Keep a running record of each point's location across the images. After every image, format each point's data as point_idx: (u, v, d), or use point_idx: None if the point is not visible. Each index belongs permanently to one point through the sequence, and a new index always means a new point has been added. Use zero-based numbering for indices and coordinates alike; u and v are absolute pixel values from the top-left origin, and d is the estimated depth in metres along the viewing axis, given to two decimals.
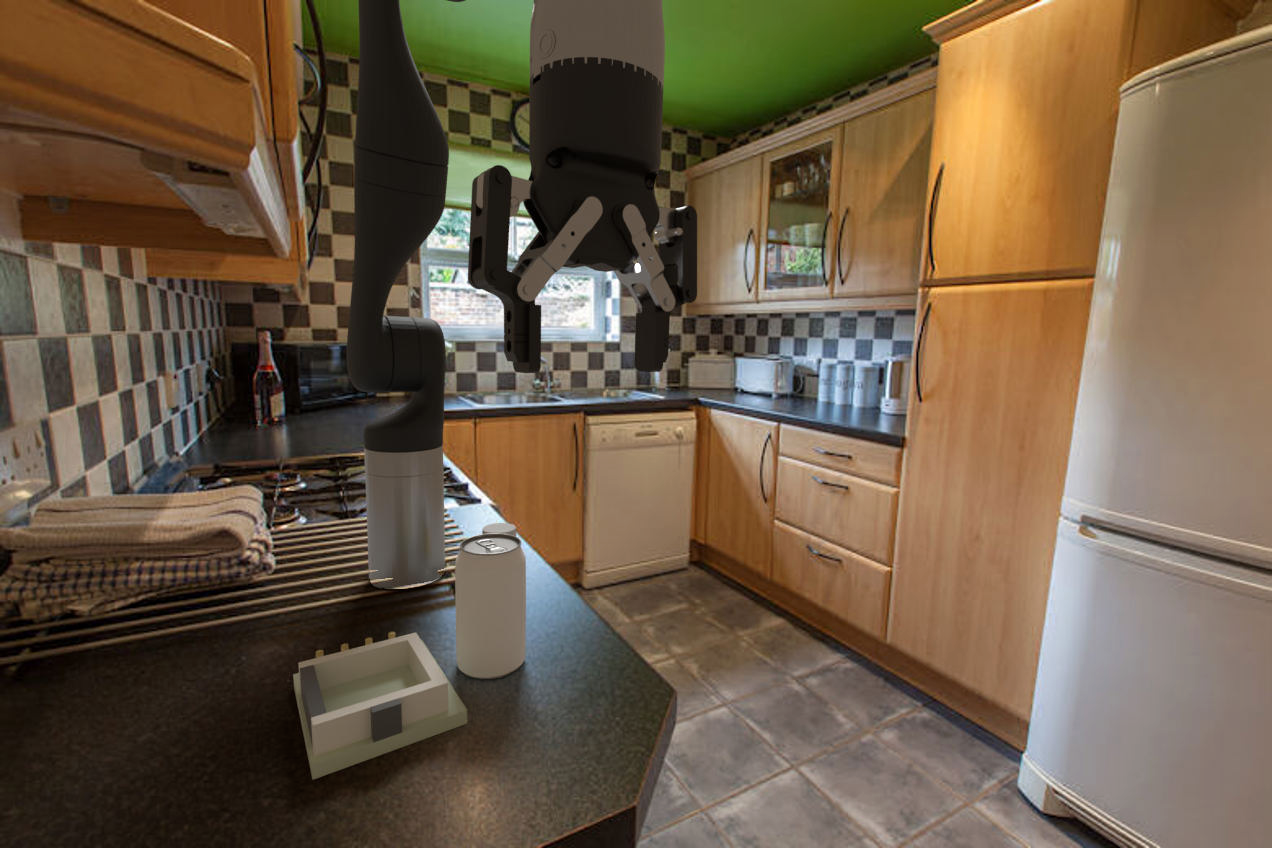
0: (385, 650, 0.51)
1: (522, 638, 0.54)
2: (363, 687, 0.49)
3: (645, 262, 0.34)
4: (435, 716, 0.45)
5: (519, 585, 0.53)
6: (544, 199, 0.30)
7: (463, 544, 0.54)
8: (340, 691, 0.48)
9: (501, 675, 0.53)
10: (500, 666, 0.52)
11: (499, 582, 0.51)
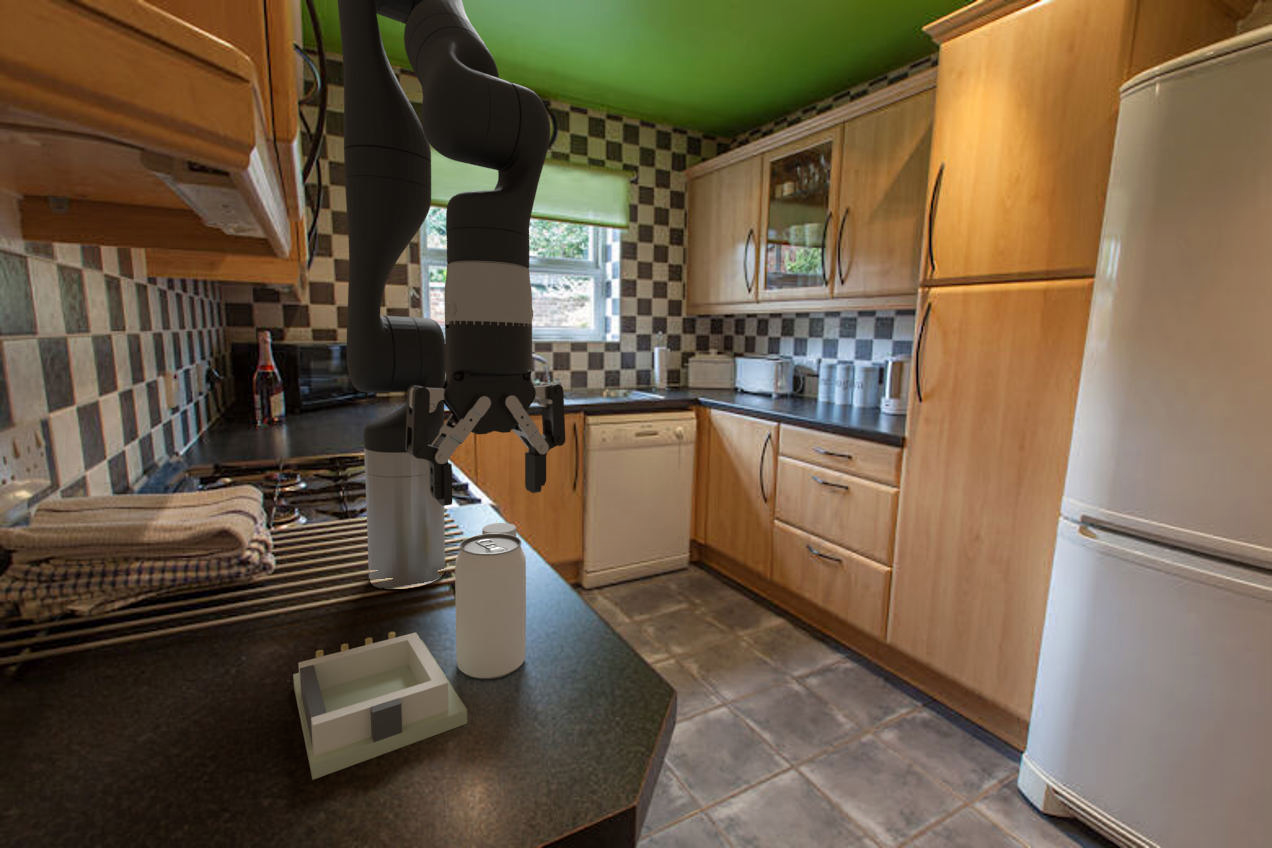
0: (385, 650, 0.51)
1: (522, 638, 0.54)
2: (363, 687, 0.49)
3: (523, 428, 0.52)
4: (435, 716, 0.45)
5: (519, 585, 0.53)
6: (452, 400, 0.49)
7: (463, 544, 0.54)
8: (340, 691, 0.48)
9: (501, 675, 0.53)
10: (500, 666, 0.52)
11: (499, 582, 0.51)
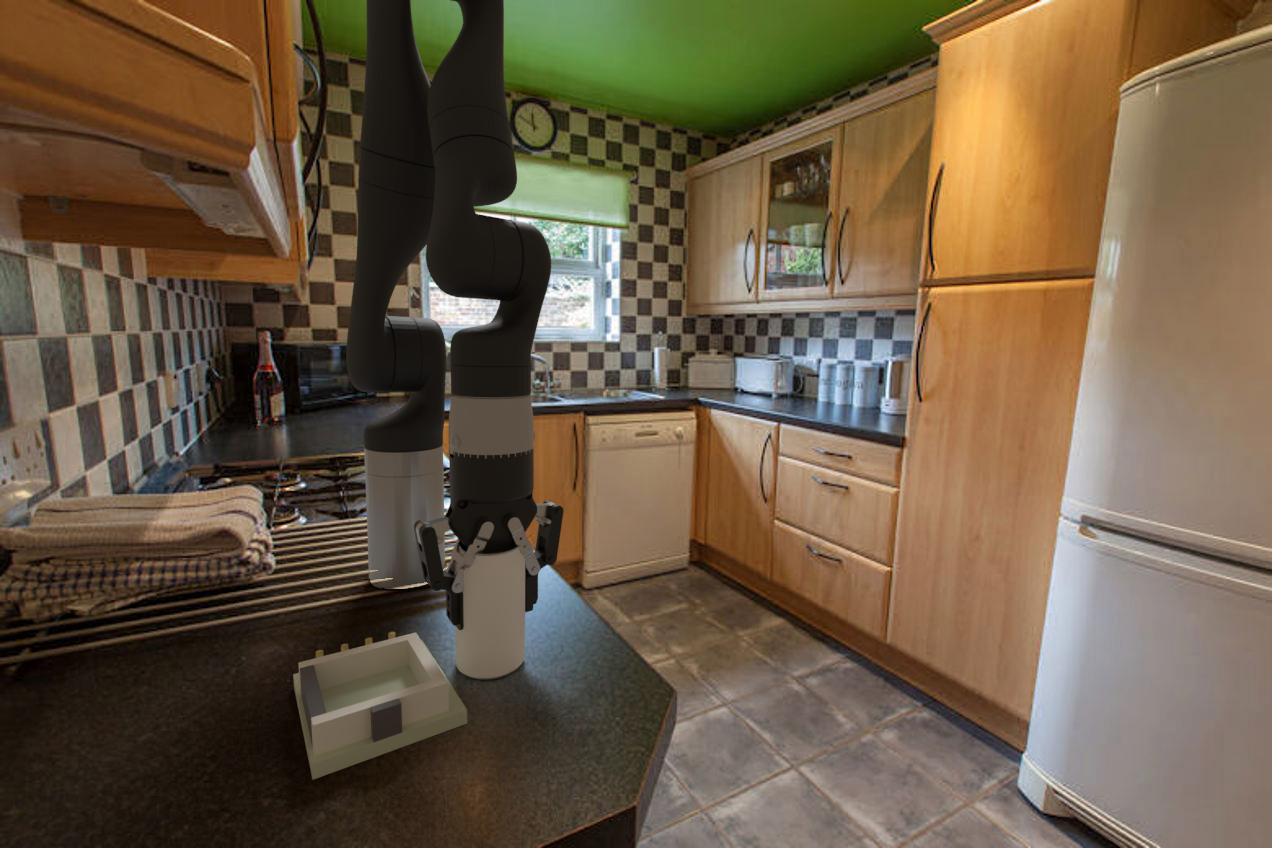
0: (385, 650, 0.51)
1: (522, 638, 0.54)
2: (363, 687, 0.49)
3: (520, 549, 0.54)
4: (435, 716, 0.45)
5: (518, 585, 0.53)
6: (457, 529, 0.50)
7: None
8: (340, 691, 0.48)
9: (500, 675, 0.53)
10: (499, 667, 0.52)
11: (498, 582, 0.51)
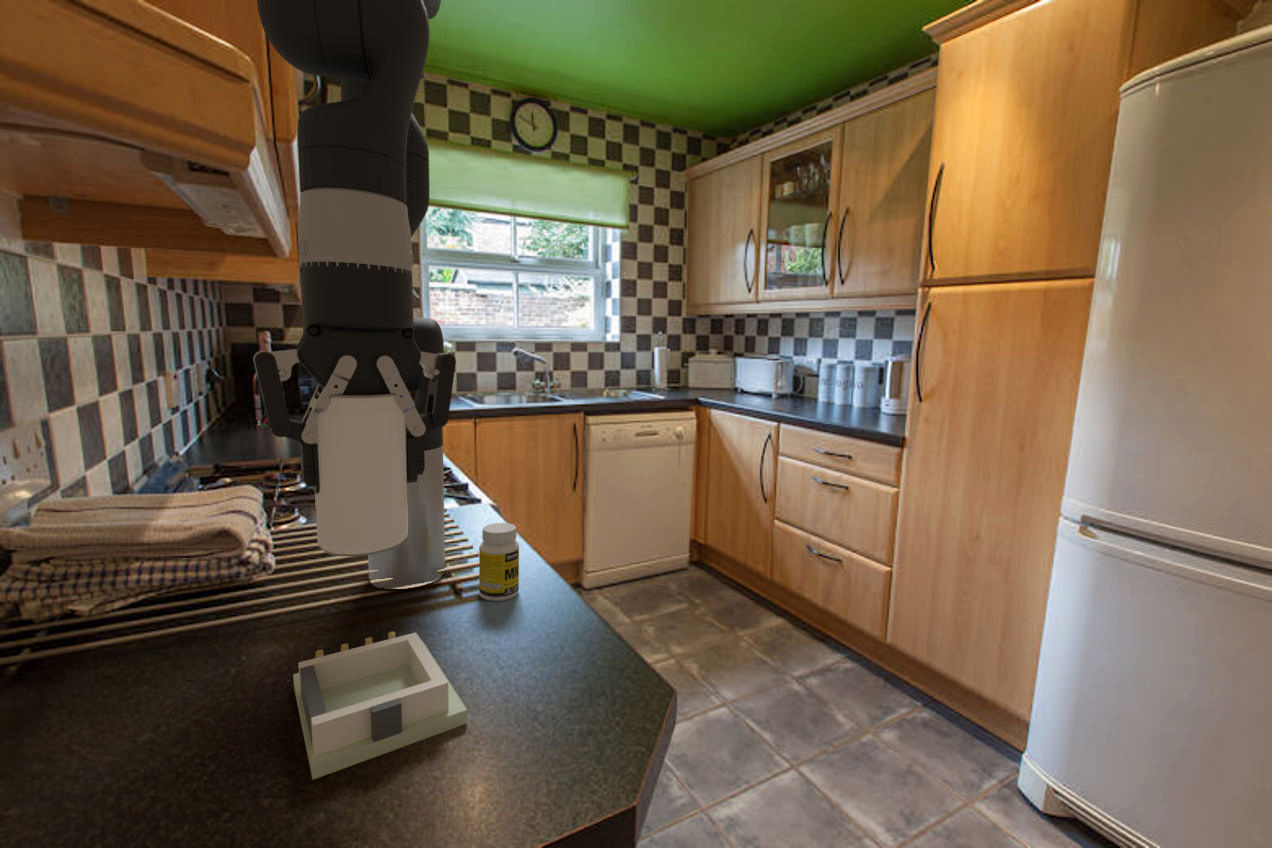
0: (385, 650, 0.51)
1: (399, 510, 0.44)
2: (363, 687, 0.49)
3: (395, 399, 0.44)
4: (435, 716, 0.45)
5: (392, 441, 0.43)
6: (308, 362, 0.40)
7: None
8: (340, 691, 0.48)
9: (368, 552, 0.43)
10: (366, 540, 0.42)
11: (361, 432, 0.41)
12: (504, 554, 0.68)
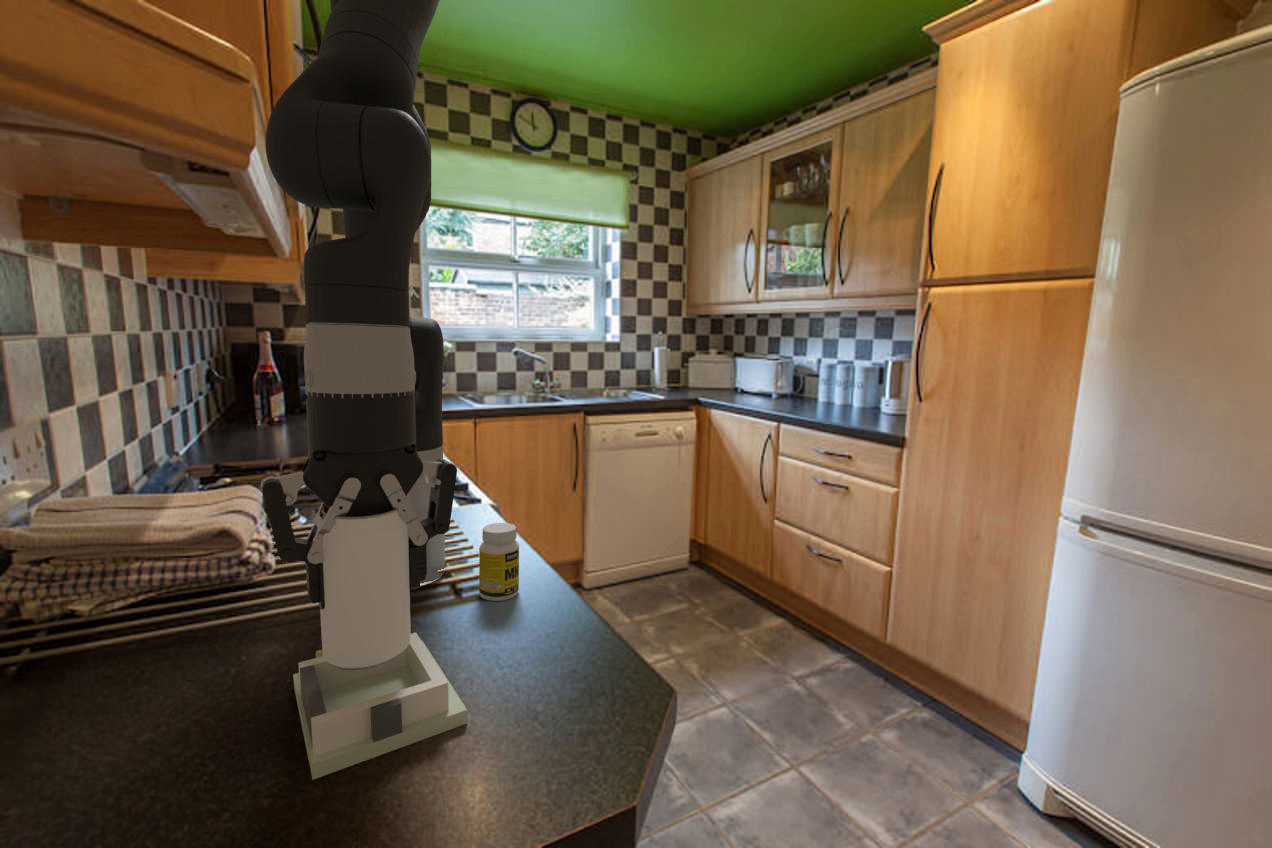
0: None
1: (402, 621, 0.45)
2: (363, 687, 0.49)
3: (398, 513, 0.45)
4: (435, 716, 0.45)
5: (395, 556, 0.44)
6: (314, 485, 0.42)
7: None
8: (340, 691, 0.48)
9: (372, 665, 0.44)
10: (370, 654, 0.43)
11: (365, 552, 0.42)
12: (504, 554, 0.68)
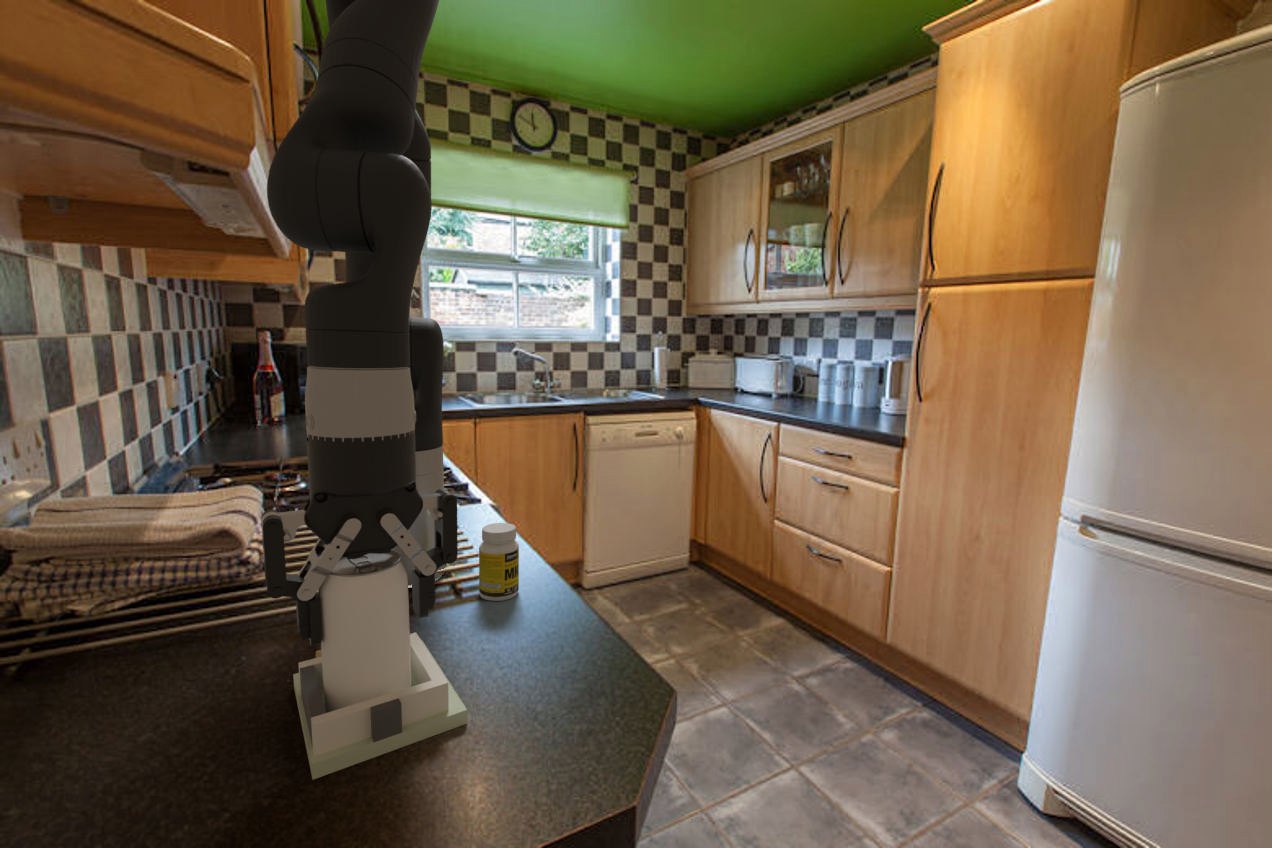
0: None
1: (402, 672, 0.46)
2: None
3: (403, 549, 0.45)
4: (435, 716, 0.45)
5: (394, 611, 0.45)
6: (313, 526, 0.42)
7: None
8: None
9: None
10: None
11: (364, 608, 0.43)
12: (504, 554, 0.68)
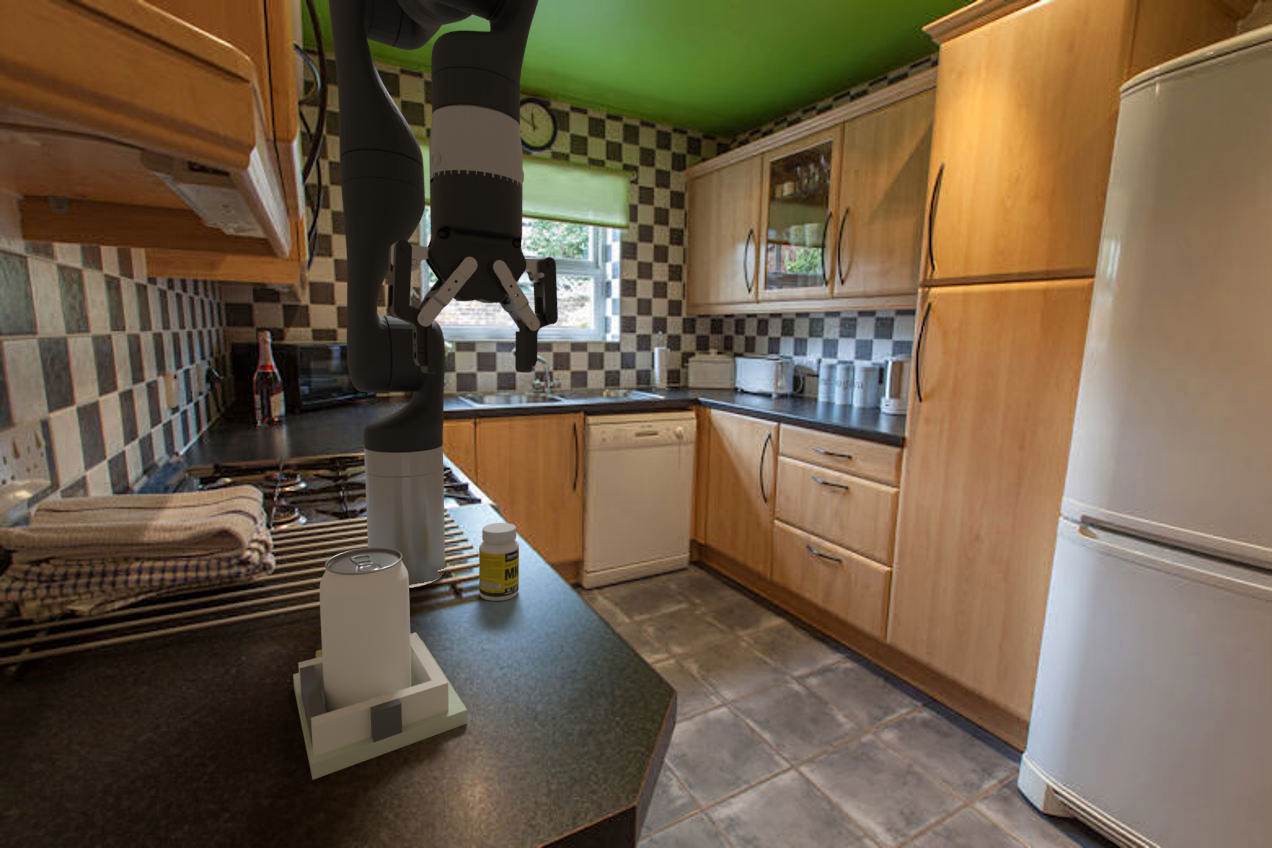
0: None
1: (402, 671, 0.46)
2: None
3: (512, 298, 0.50)
4: (435, 716, 0.45)
5: (395, 610, 0.45)
6: (436, 259, 0.46)
7: (333, 560, 0.46)
8: None
9: None
10: None
11: (365, 607, 0.43)
12: (504, 554, 0.68)
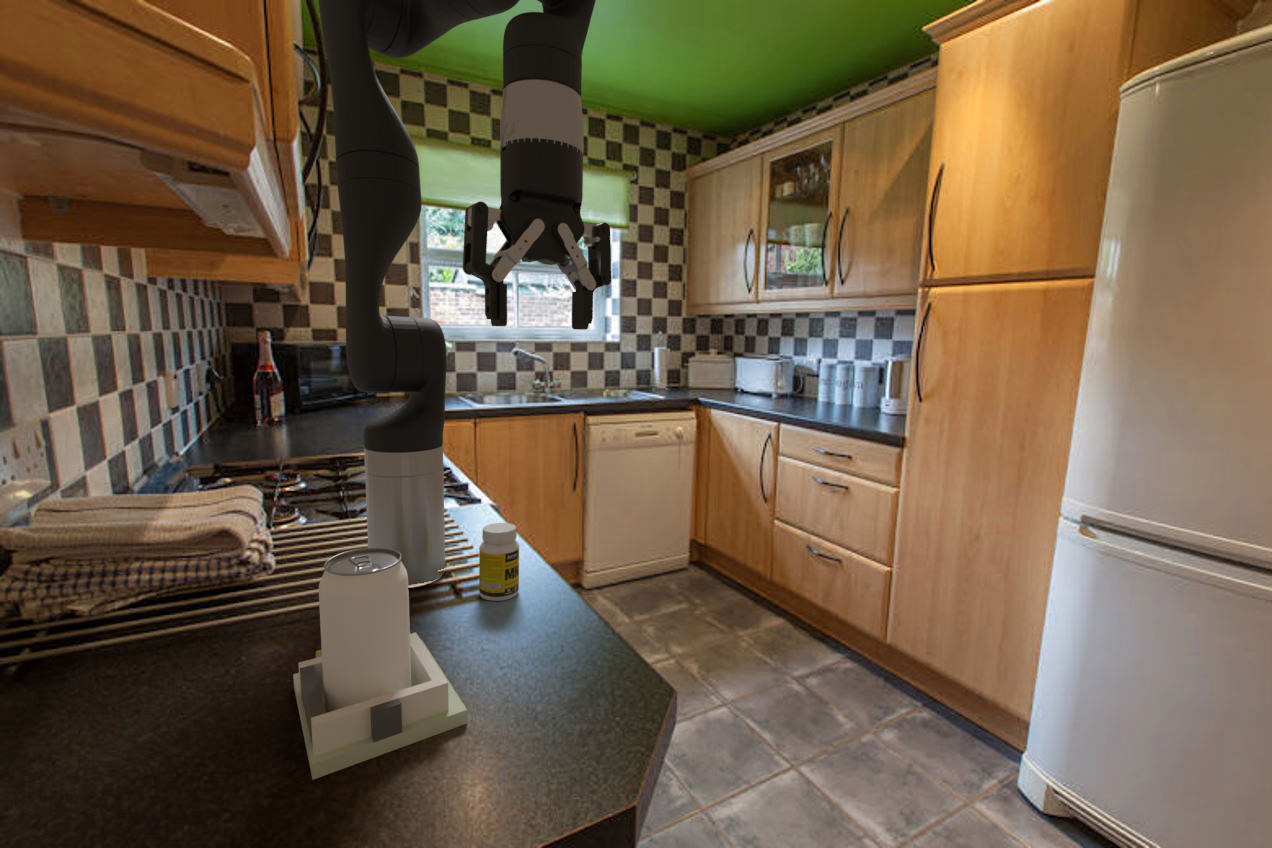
0: None
1: (402, 672, 0.46)
2: None
3: (573, 258, 0.54)
4: (435, 716, 0.45)
5: (394, 610, 0.45)
6: (508, 220, 0.51)
7: (332, 561, 0.46)
8: None
9: None
10: None
11: (364, 608, 0.43)
12: (505, 554, 0.68)
